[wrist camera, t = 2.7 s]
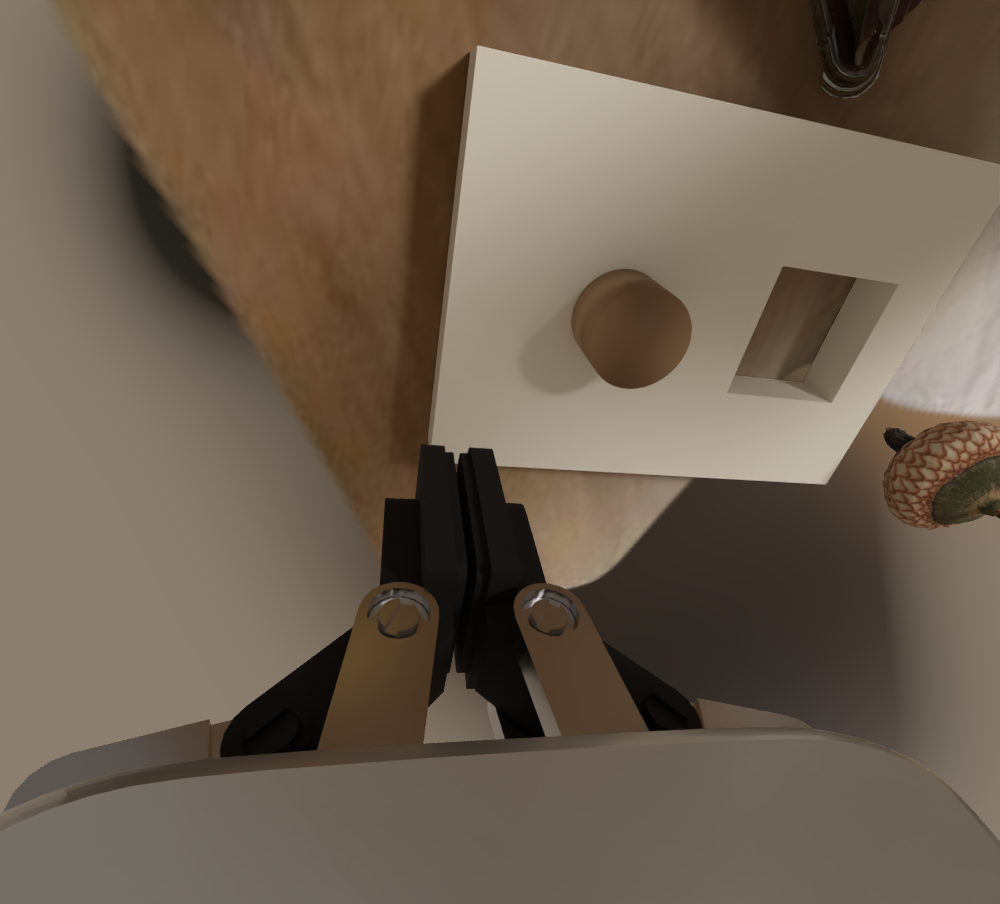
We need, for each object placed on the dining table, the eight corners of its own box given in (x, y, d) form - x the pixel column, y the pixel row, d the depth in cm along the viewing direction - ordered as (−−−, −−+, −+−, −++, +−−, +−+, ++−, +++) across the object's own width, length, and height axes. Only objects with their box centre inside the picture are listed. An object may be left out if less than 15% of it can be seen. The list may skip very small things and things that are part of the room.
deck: (969, 163, 29) (1021, 169, 27) (800, 460, 40) (826, 484, 37) (470, 51, 23) (477, 45, 21) (427, 435, 34) (429, 462, 31)
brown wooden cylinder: (675, 275, 27) (707, 296, 24) (645, 364, 30) (670, 393, 27) (584, 262, 26) (606, 282, 23) (561, 356, 29) (578, 384, 26)
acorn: (828, 415, 38) (946, 503, 29) (944, 362, 36) (1100, 438, 28) (837, 492, 42) (941, 587, 34) (940, 447, 41) (1074, 534, 33)
